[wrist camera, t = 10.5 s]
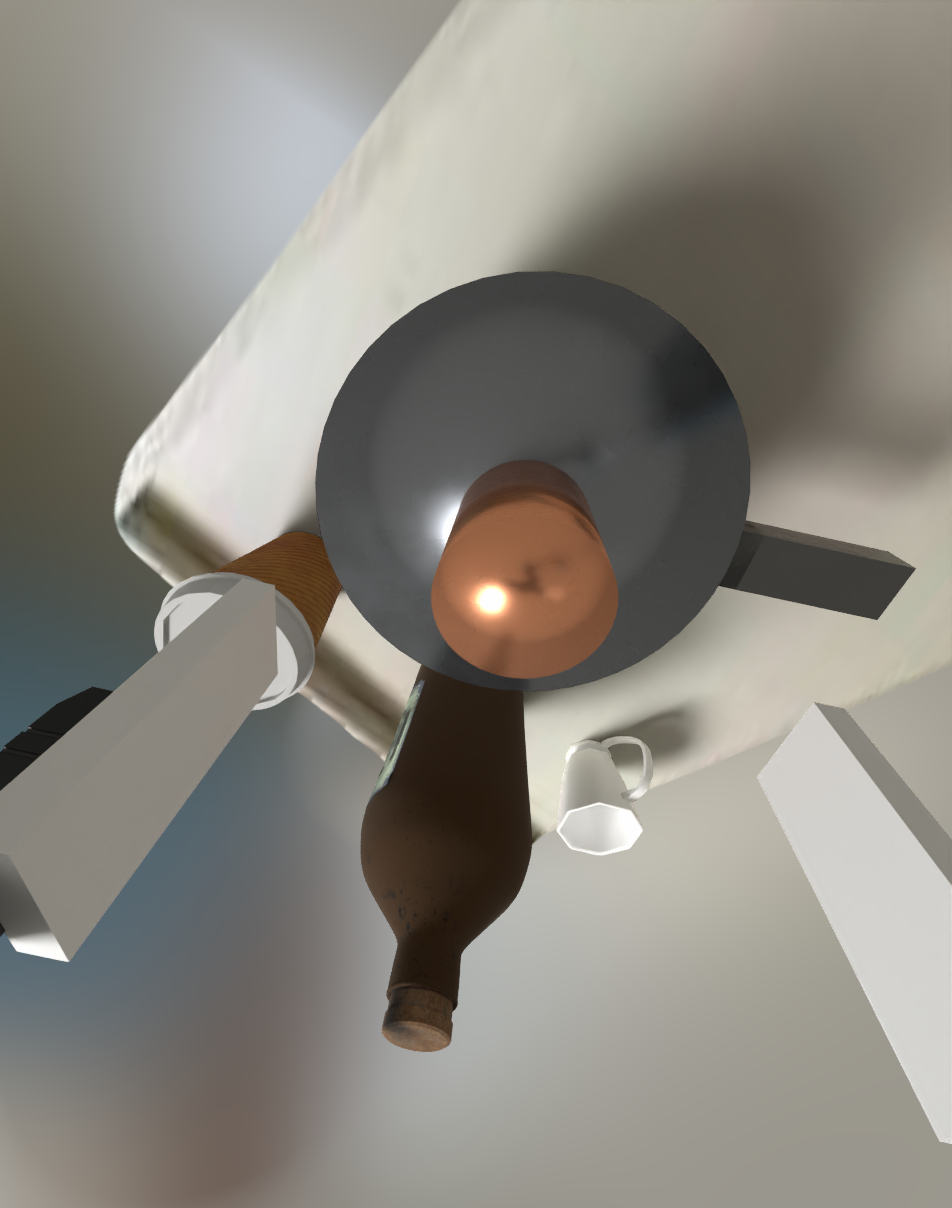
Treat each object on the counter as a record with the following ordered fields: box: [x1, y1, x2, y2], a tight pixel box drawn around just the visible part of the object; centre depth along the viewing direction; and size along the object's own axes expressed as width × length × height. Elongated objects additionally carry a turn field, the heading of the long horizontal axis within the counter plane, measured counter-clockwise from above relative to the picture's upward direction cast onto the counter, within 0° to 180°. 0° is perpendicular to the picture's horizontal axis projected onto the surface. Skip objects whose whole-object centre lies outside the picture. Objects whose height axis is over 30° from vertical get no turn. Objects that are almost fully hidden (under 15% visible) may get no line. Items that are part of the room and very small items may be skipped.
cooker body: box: [718, 520, 916, 620], centre depth 28 cm, size 28×19×12 cm, turn 79°
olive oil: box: [361, 665, 532, 1052], centre depth 32 cm, size 11×11×25 cm
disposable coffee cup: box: [154, 532, 342, 710], centre depth 33 cm, size 10×10×12 cm
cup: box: [557, 736, 653, 856], centre depth 42 cm, size 7×10×8 cm
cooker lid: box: [315, 272, 750, 691], centre depth 19 cm, size 19×19×8 cm
